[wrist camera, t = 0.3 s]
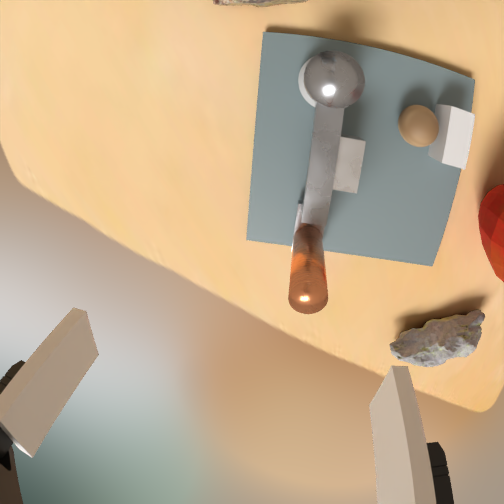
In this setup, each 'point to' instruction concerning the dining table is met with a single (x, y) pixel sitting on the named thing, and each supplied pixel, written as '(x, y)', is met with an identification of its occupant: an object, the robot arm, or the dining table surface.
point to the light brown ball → (418, 125)
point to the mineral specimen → (439, 340)
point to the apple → (493, 228)
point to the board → (375, 154)
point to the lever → (324, 172)
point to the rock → (256, 2)
